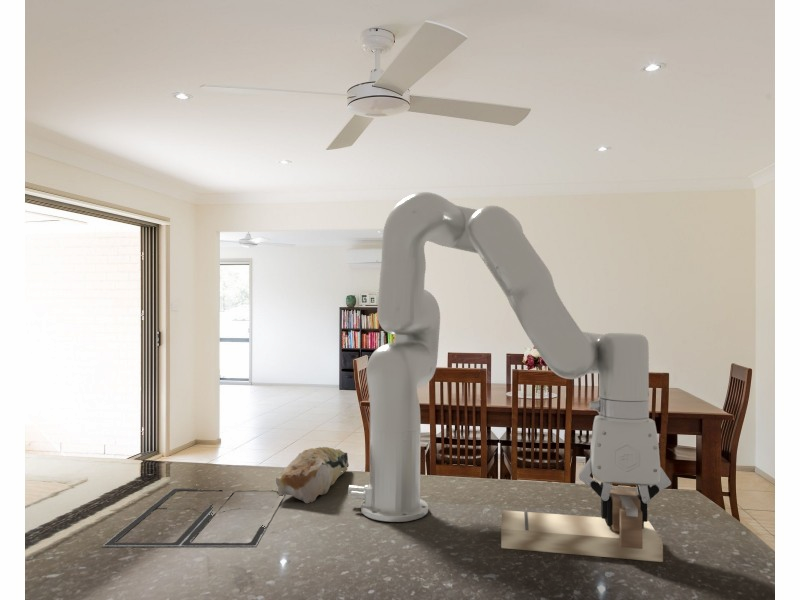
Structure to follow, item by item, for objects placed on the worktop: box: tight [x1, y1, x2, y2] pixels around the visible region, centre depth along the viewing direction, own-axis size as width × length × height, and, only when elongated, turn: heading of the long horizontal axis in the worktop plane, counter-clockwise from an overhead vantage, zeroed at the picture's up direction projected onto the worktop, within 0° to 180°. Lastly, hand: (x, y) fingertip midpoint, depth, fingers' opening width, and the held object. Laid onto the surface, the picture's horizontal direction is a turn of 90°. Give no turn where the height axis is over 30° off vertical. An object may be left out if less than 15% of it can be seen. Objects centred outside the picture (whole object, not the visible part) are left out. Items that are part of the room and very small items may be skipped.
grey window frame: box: [102, 487, 267, 548], centre depth 105 cm, size 24×1×30 cm
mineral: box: [275, 446, 349, 504], centre depth 123 cm, size 26×9×10 cm
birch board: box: [500, 509, 664, 563], centre depth 93 cm, size 24×9×3 cm, turn 79°
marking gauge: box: [610, 489, 643, 549], centre depth 89 cm, size 4×9×6 cm, turn 169°
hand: (623, 523), depth 91 cm, fingers closed on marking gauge, 4 cm apart
